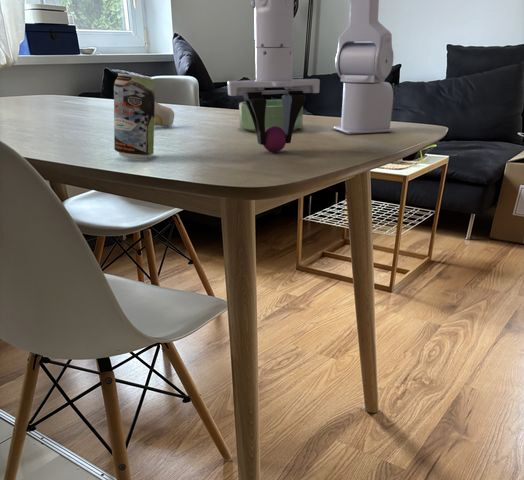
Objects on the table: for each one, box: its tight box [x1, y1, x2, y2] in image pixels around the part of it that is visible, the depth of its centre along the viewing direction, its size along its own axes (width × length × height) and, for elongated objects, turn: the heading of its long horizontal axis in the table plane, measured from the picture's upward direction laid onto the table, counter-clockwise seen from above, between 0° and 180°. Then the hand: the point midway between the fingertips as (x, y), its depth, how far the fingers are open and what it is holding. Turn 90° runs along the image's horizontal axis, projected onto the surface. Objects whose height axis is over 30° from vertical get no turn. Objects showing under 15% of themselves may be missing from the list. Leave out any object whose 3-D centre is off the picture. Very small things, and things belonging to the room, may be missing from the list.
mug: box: [154, 101, 175, 128], centre depth 110 cm, size 8×10×10 cm
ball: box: [263, 126, 287, 153], centre depth 84 cm, size 4×4×4 cm
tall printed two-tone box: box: [113, 72, 156, 159], centre depth 79 cm, size 6×7×12 cm
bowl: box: [238, 99, 304, 133], centre depth 107 cm, size 13×13×5 cm
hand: (274, 143), depth 84 cm, fingers closed on ball, 4 cm apart
